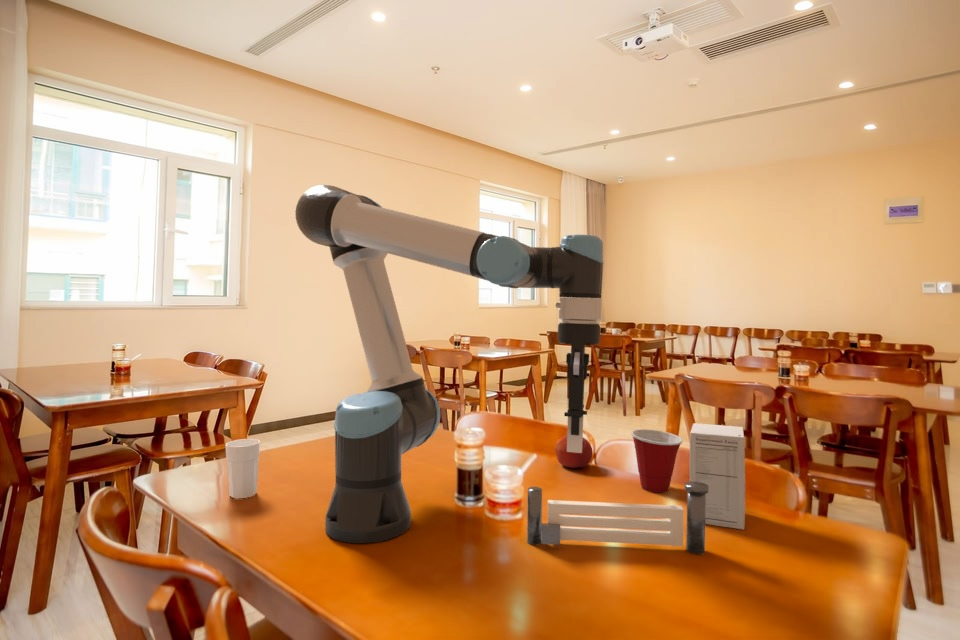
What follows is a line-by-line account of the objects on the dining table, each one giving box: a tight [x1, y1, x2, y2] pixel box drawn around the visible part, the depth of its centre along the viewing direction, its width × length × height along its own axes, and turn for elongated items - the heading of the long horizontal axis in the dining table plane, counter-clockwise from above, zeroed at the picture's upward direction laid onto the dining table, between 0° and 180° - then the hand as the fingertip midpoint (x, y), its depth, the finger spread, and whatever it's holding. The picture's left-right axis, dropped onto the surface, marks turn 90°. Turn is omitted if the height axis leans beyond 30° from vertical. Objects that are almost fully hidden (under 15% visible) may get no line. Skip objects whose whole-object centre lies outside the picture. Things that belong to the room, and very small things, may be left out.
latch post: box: [526, 486, 561, 546], centre depth 89 cm, size 5×4×9 cm
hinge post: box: [684, 481, 709, 556], centre depth 87 cm, size 4×4×11 cm
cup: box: [224, 438, 261, 499], centre depth 112 cm, size 7×7×11 cm
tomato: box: [554, 434, 593, 469], centre depth 133 cm, size 9×9×8 cm
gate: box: [547, 499, 685, 547], centre depth 89 cm, size 22×2×6 cm, turn 84°
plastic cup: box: [630, 428, 684, 494], centre depth 117 cm, size 11×11×12 cm
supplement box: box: [689, 422, 746, 530], centre depth 101 cm, size 10×9×17 cm
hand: (574, 451), depth 98 cm, fingers closed
